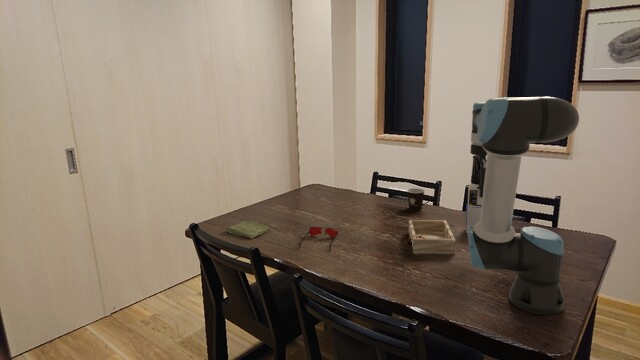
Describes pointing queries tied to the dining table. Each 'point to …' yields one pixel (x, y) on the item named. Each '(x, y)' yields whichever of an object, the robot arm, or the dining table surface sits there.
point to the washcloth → (248, 229)
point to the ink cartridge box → (472, 217)
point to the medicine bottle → (473, 191)
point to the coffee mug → (416, 199)
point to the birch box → (431, 237)
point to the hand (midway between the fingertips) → (478, 201)
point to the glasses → (317, 230)
